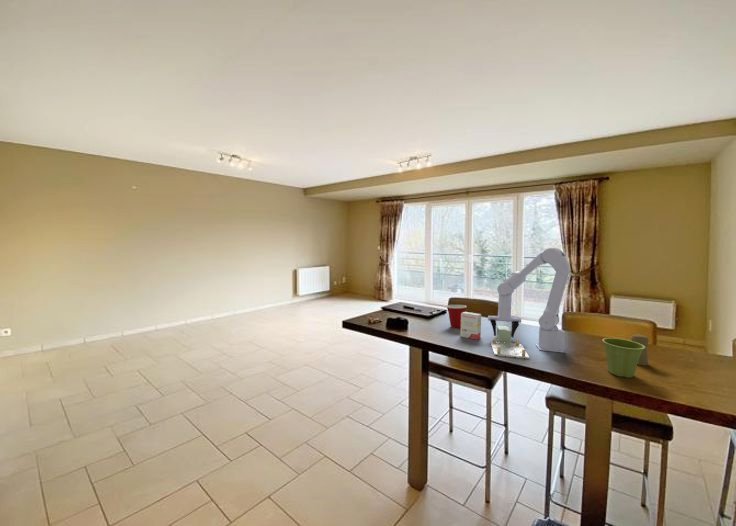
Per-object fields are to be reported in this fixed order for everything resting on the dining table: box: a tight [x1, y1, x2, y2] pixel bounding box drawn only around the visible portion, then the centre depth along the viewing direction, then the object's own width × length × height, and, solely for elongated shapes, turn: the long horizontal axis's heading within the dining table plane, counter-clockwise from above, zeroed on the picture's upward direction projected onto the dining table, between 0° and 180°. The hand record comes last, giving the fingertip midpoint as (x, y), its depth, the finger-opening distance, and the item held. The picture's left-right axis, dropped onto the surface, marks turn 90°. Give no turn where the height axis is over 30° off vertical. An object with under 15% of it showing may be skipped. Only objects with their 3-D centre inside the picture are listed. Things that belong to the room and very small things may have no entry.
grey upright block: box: [630, 334, 650, 366], centre depth 123 cm, size 6×6×11 cm
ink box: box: [460, 311, 482, 341], centre depth 153 cm, size 9×5×12 cm, turn 50°
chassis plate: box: [489, 336, 530, 360], centre depth 135 cm, size 13×17×3 cm
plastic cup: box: [446, 304, 467, 329], centre depth 171 cm, size 11×11×12 cm
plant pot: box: [601, 337, 645, 379], centre depth 112 cm, size 12×12×11 cm
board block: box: [495, 325, 512, 343], centre depth 150 cm, size 5×10×6 cm, turn 164°
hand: (503, 336), depth 150 cm, fingers open, 7 cm apart
